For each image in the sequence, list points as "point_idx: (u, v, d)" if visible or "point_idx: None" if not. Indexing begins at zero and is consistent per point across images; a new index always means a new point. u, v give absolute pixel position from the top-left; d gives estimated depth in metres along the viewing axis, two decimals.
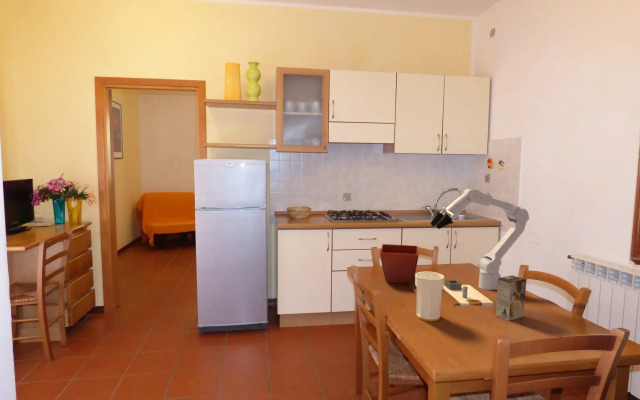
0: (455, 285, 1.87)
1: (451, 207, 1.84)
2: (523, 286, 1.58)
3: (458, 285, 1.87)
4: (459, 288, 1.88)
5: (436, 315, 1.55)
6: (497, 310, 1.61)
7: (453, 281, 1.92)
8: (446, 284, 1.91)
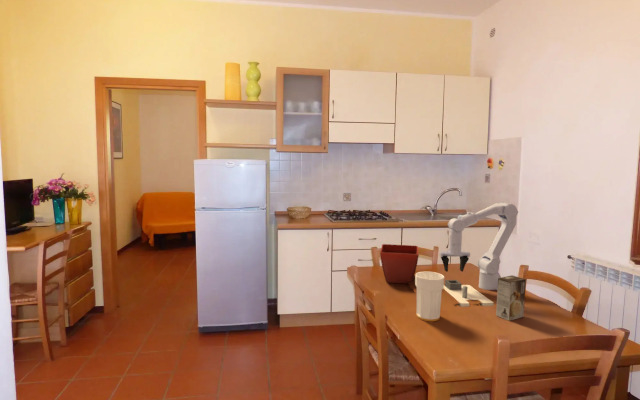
0: (455, 285, 1.87)
1: None
2: (523, 286, 1.58)
3: (458, 285, 1.87)
4: (459, 288, 1.88)
5: (436, 315, 1.55)
6: (497, 310, 1.61)
7: (453, 281, 1.92)
8: (446, 284, 1.91)
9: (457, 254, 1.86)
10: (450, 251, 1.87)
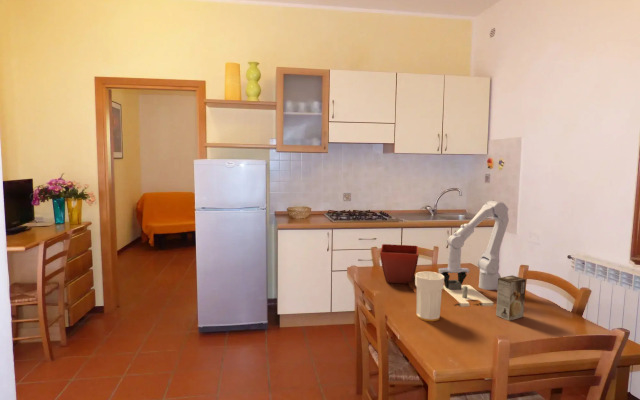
0: (455, 285, 1.87)
1: None
2: (523, 286, 1.58)
3: (458, 285, 1.87)
4: (459, 288, 1.88)
5: (436, 315, 1.55)
6: (497, 310, 1.61)
7: (453, 281, 1.92)
8: None
9: (456, 271, 1.86)
10: (449, 267, 1.88)
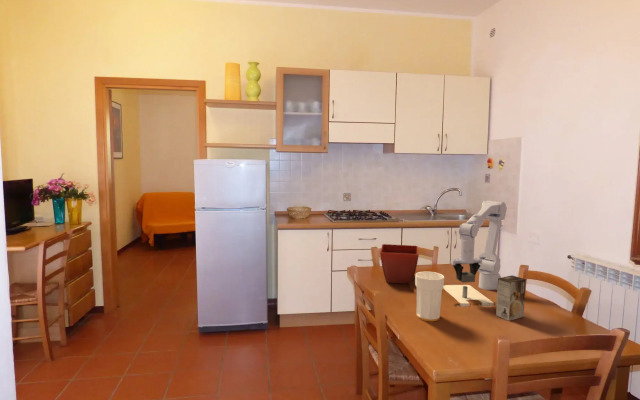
0: (469, 277, 1.74)
1: None
2: (523, 286, 1.58)
3: (472, 277, 1.74)
4: (473, 280, 1.74)
5: (436, 315, 1.55)
6: (497, 310, 1.61)
7: (464, 272, 1.79)
8: None
9: (470, 261, 1.73)
10: (462, 258, 1.74)
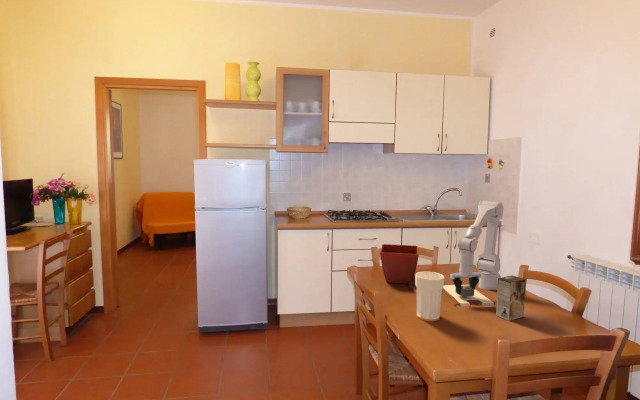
0: (468, 291, 1.74)
1: None
2: (523, 286, 1.58)
3: (471, 291, 1.75)
4: (472, 294, 1.75)
5: (436, 315, 1.55)
6: (497, 310, 1.61)
7: None
8: None
9: (469, 276, 1.73)
10: (462, 273, 1.75)
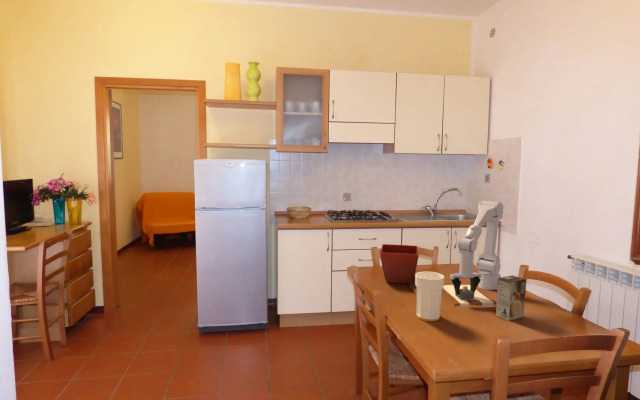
0: (468, 294, 1.75)
1: None
2: (523, 286, 1.58)
3: (471, 294, 1.75)
4: (472, 297, 1.75)
5: (436, 315, 1.55)
6: (497, 310, 1.61)
7: None
8: None
9: (469, 276, 1.73)
10: (462, 273, 1.75)
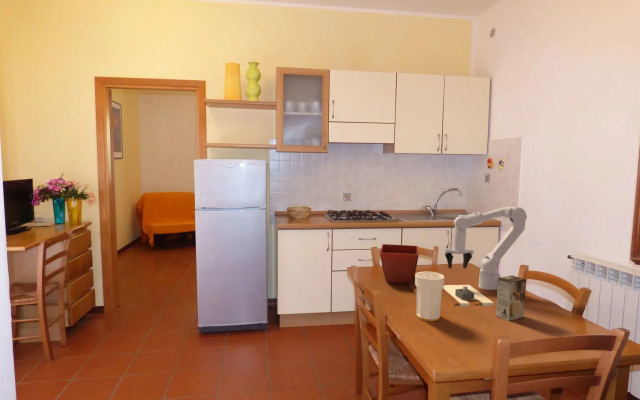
0: (468, 294, 1.75)
1: None
2: (523, 286, 1.58)
3: (471, 294, 1.75)
4: (472, 297, 1.75)
5: (436, 315, 1.55)
6: (497, 310, 1.61)
7: None
8: (457, 293, 1.78)
9: (461, 251, 1.89)
10: (454, 248, 1.91)
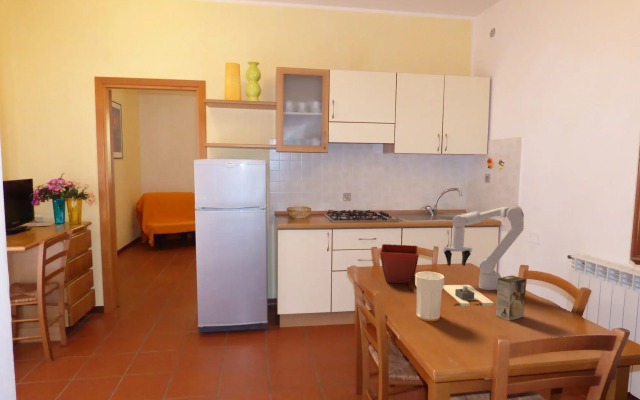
0: (468, 294, 1.75)
1: None
2: (523, 286, 1.58)
3: (471, 294, 1.75)
4: (472, 297, 1.75)
5: (436, 315, 1.55)
6: (497, 310, 1.61)
7: None
8: (457, 293, 1.78)
9: (460, 249, 1.94)
10: (453, 246, 1.95)
